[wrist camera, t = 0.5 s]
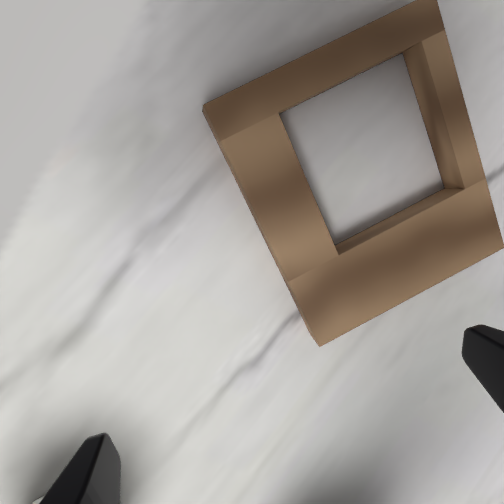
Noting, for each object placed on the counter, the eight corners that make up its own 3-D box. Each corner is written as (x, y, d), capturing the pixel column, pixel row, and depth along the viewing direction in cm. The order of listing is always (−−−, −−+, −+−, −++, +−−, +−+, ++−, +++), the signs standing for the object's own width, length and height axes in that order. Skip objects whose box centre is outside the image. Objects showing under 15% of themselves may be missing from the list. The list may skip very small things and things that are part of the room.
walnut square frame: (482, 242, 24) (504, 247, 23) (310, 334, 24) (319, 346, 22) (413, 7, 20) (434, -9, 18) (202, 111, 19) (203, 105, 18)
